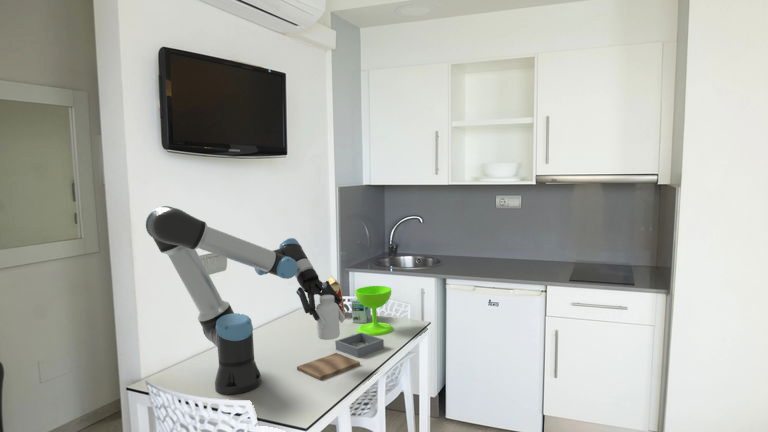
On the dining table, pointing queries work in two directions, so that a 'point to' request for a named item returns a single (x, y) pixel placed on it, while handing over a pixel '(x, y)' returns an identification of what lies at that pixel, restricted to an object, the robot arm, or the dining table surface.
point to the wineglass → (374, 308)
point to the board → (328, 366)
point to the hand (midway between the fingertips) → (333, 323)
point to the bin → (371, 346)
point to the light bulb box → (360, 312)
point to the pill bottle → (328, 318)
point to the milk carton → (337, 291)
